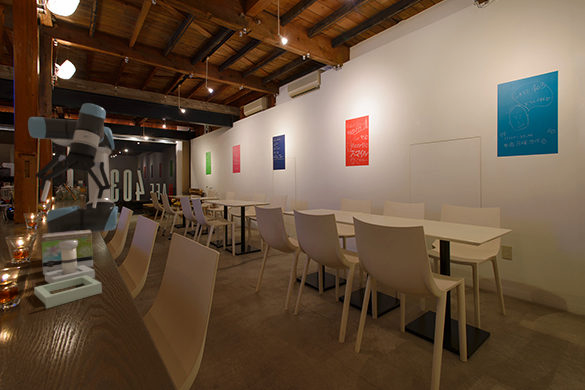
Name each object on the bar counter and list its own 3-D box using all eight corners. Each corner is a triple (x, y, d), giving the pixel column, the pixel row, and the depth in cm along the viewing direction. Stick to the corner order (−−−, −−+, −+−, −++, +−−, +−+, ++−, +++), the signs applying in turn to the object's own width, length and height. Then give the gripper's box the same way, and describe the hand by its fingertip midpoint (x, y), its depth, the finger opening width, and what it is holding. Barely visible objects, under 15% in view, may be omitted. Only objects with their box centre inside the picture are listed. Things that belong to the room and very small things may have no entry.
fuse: (59, 279, 94) (56, 241, 94) (76, 275, 98) (74, 239, 98) (63, 282, 91) (61, 243, 91) (81, 278, 95) (79, 240, 95)
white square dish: (45, 283, 94) (44, 273, 94) (84, 274, 103) (83, 264, 102) (54, 290, 87) (53, 279, 87) (95, 279, 96) (94, 270, 96)
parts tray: (34, 297, 82) (34, 287, 82) (87, 283, 92) (86, 275, 92) (46, 308, 74) (45, 297, 74) (101, 292, 85) (101, 282, 84)
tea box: (42, 277, 100) (40, 237, 99) (44, 271, 107) (41, 233, 107) (94, 268, 109) (91, 231, 108) (92, 263, 117) (90, 228, 116)
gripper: (36, 131, 89) (16, 195, 83) (125, 151, 101) (112, 208, 96) (41, 139, 95) (22, 199, 90) (124, 157, 108) (112, 211, 102)
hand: (69, 204), depth 93 cm, fingers open, 13 cm apart
